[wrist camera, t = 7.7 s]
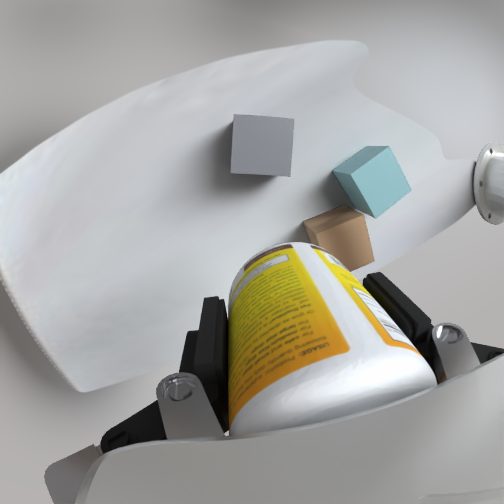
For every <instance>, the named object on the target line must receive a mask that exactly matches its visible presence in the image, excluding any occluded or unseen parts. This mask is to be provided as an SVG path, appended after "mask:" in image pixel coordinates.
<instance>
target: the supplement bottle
mask: <svg viewBox="0 0 504 504" xmlns="http://www.w3.org/2000/svg"><path fill="white" fill-rule="evenodd" d="M436 385H437V381H436V377H435V375H434V372H433V371H432V369H431V368H430V366H429V365H428V363H427V362H426V360H425V359H424V358H423V357H422V355H421V354H420V353H419V352H418V350H417V349H416V348H415V347H414V345H413V344H412V343H411V342H410V340H409V339H408V338H407V337H406V336H405V335H404V333H403V332H402V331H401V330H400V328H399V327H398V326H397V325H396V324H395V322H394V321H393V320H392V319H391V318H390V317H389V315H388V314H387V313H386V312H385V311H384V309H383V308H382V307H381V306H380V305H379V304H378V303H377V302H376V300H375V299H374V298H373V297H372V296H371V295H370V294H369V292H368V291H367V290H366V289H365V288H364V287H363V286H362V285H361V284H360V282H359V281H358V280H357V279H356V278H355V277H354V276H353V275H352V274H351V273H350V272H349V270H348V269H347V268H346V267H345V266H344V265H343V264H342V263H341V262H340V261H339V260H338V259H337V258H336V257H335V256H334V255H332V254H331V253H330V252H328V251H327V250H325V249H323V248H321V247H319V246H316V245H313V244H309V243H303V242H288V243H282V244H278V245H274V246H272V247H269V248H266V249H264V250H262V251H261V252H259V253H257V254H256V255H254V256H253V257H252V258H250V259H249V260H248V261H247V262H246V263H245V264H244V265H243V267H242V268H241V269H240V270H239V272H238V273H237V275H236V277H235V279H234V281H233V283H232V286H231V290H230V294H229V303H228V397H229V436H231V435H241V434H250V433H259V432H267V431H274V430H281V429H287V428H293V427H298V426H304V425H309V424H314V423H318V422H323V421H327V420H332V419H336V418H340V417H344V416H348V415H351V414H355V413H359V412H362V411H366V410H369V409H372V408H376V407H379V406H382V405H385V404H388V403H391V402H394V401H397V400H400V399H402V398H405V397H408V396H411V395H413V394H416V393H419V392H421V391H424V390H426V389H429V388H431V387H433V386H436Z"/></svg>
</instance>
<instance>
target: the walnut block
mask: <svg viewBox="0 0 504 504" xmlns="http://www.w3.org/2000/svg"><path fill="white" fill-rule="evenodd" d="M303 223H304V226H305V229H306V232H307V235H308V238H309V241H310V244H313V245H316V246H319V247H321V248H323V249H325V250H327V251H328V252H330V253H331V254H332V255H334V256H335V257H336V258H337V259H338V260H339V261H340V262H341V263H342V264H343V265H344V266H345V267H346V268H347V269H348V270H349V272H351V271H353V270H356V269H358V268H360V267H362V266H365V265H367V264H369V263H371V262H374V257H373V252H372V247H371V243H370V238H369V234H368V230H367V226H366V222H365V218H364V215H363V214H361V213H359V212H357V211H355V210H353V209H351V208H349V207H347V206H345V205H344V206H341V207H338V208H336V209H333V210H331V211H328V212H325V213H323V214H320V215H318V216H315V217H313V218H310V219H308V220H305V221H303Z"/></svg>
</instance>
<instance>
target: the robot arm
mask: <svg viewBox="0 0 504 504" xmlns="http://www.w3.org/2000/svg"><path fill="white" fill-rule="evenodd" d="M474 195H475V201H476V205H477V208H478V211H479V213H480V215H481V216H482V218H483V219H484V220H486V221H487V222H489V223H491V224H495V225H496V224H500V223H502V222H504V144H502V143H499V142H491V143H489V144H487V145H486V146H485V147H484V148H483V149H482V151H481V153H480V154H479V157H478V160H477V163H476V167H475V173H474ZM363 287H364V288H365V289H366V290H367V291H368V292H369V294H370V295H371V296H372V297H373V298H374V299H375V300H376V302H377V303H378V304H379V305H380V306H381V307H382V308H383V309H384V311H385V312H386V313H387V314H388V315H389V317H390V318H391V319H392V320H393V321H394V322H395V324H396V325H397V326H398V327H399V328H400V330H401V331H402V332H403V333H404V335H405V336H406V337H407V338H408V339H409V340H410V342H411V343H412V344H413V345H414V347H415V348H416V349H417V350H418V352H419V353H420V354H421V355H422V357H423V358H424V359H425V360H426V362H427V363H428V365H429V366H430V368H431V369H432V371H433V372H434V375H435V377H436V381H437V385H436V386H433V387H431V388H429V389H426V390H424V391H421V392H419V393H416V394H413V395H411V396H408V397H405V398H402V399H400V400H397V401H394V402H391V403H388V404H385V405H382V406H379V407H376V408H372V409H369V410H366V411H362V412H359V413H355V414H351V415H348V416H344V417H340V418H336V419H332V420H327V421H323V422H318V423H314V424H309V425H304V426H298V427H293V428H287V429H281V430H274V431H267V432H259V433H250V434H241V435H231V436H225V435H224V433H225V432H227V431H228V430H229V397H228V318H227V312H226V307H225V302H224V299H221V300H219V297H218V296H216V297H207V298H204V302H203V308H202V313H201V319H200V325H199V330H195V331H188V332H187V336H186V340H185V345H184V350H183V355H182V360H181V365H180V370H179V373H174V374H172V375H169V376H167V377H166V378H164V379H162V380H161V382H160V383H159V384H158V386H157V388H156V394H157V399H158V400H156V401H155V402H153V403H152V404H150V405H149V406H147V407H145V408H144V409H142V410H141V411H139V412H137V413H136V414H134V415H133V416H131V417H130V418H128V419H126V420H124V421H123V422H121V423H119V424H118V425H116V426H114V427H113V428H111V429H110V430H108V431H107V432H106V433H105V434H104V436H103V437H102V440H101V443H100V445H98V446H96V447H95V446H94V444H92V445H91V446H88V447H87V448H84V449H82V450H80V451H78V452H76V453H74V454H72V455H70V456H68V457H66V458H64V459H61V460H59V461H57V462H55V463H53V464H51V465H50V466H49V467H48V468H47V470H46V471H45V475H44V478H45V483H46V485H47V488H48V490H49V493H50V496H51V498H52V500H53V503H54V504H504V349H502V348H497V347H491V346H487V345H481V344H477V343H472V342H470V341H469V339H468V337H467V335H466V333H465V331H464V330H463V329H462V328H461V327H459V326H458V325H455V324H452V323H440V324H438V325H436V326H435V327H434V326H433V325H432V324H431V319H430V318H429V317H428V316H427V315H426V314H425V313H424V312H423V311H422V310H421V309H420V308H418V306H416V305H415V304H414V303H413V302H412V301H411V300H410V299H409V298H408V297H407V296H406V295H405V294H404V293H403V292H402V291H401V290H400V289H399V288H398V287H396V286H395V285H394V284H393V283H392V282H391V281H390V280H389V279H388V278H387V277H385V276H384V275H383V274H382V273H381V272H377V273H371V274H368V275H367V277H366V278H364V279H363Z"/></svg>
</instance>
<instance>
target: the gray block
mask: <svg viewBox="0 0 504 504" xmlns="http://www.w3.org/2000/svg"><path fill="white" fill-rule="evenodd" d="M293 129H294V119H289V118H279V117H268V116H255V115H237V114H234V119H233V135H232V153H231V172H230V173H237V174H258V175H274V176H287V177H290V173H291V159H292V145H293Z"/></svg>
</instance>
